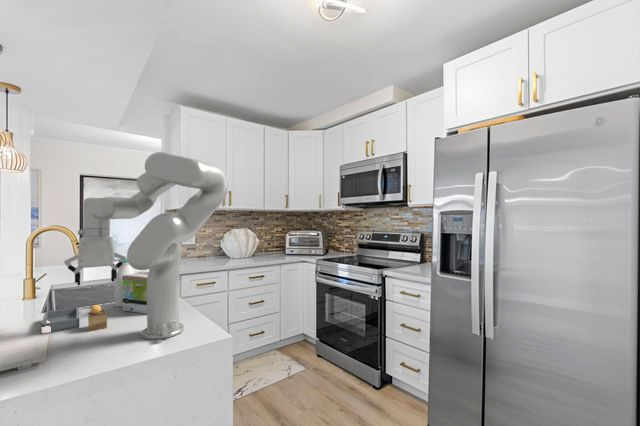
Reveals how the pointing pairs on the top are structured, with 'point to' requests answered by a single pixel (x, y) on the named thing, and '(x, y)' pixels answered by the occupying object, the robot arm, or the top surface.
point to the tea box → (135, 292)
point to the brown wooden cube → (97, 320)
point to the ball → (95, 309)
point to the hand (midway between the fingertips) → (96, 282)
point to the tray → (61, 319)
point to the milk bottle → (122, 271)
